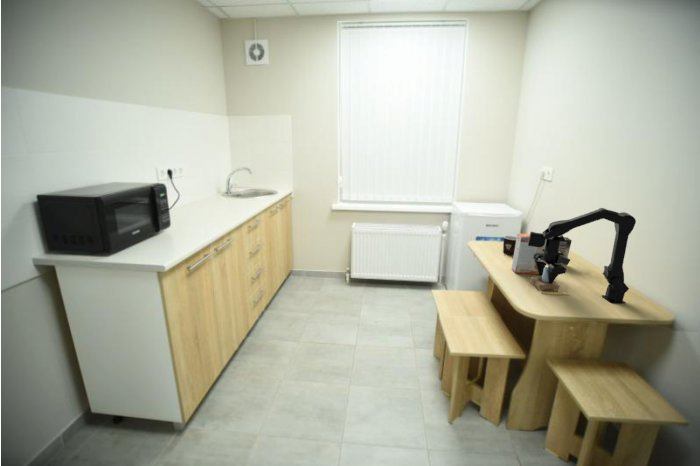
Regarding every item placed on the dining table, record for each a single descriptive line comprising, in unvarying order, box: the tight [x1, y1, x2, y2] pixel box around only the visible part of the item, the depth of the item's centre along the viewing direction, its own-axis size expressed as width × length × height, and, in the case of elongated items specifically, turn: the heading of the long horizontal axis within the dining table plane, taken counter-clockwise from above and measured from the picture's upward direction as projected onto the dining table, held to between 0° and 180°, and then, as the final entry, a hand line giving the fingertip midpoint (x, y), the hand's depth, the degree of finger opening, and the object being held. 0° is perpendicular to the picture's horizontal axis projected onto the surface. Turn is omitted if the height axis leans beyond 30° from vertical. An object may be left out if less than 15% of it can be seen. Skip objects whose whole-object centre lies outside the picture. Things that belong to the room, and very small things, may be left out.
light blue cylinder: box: [541, 266, 549, 283], centre depth 161 cm, size 3×3×10 cm
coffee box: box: [546, 236, 573, 268], centre depth 190 cm, size 9×6×16 cm
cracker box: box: [511, 233, 547, 275], centre depth 177 cm, size 14×6×21 cm, turn 86°
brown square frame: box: [529, 276, 560, 292], centre depth 162 cm, size 9×9×4 cm
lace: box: [538, 290, 570, 296], centre depth 158 cm, size 4×12×1 cm, turn 87°
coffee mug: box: [502, 235, 517, 256], centre depth 206 cm, size 12×9×10 cm
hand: (545, 279), depth 161 cm, fingers open, 9 cm apart
